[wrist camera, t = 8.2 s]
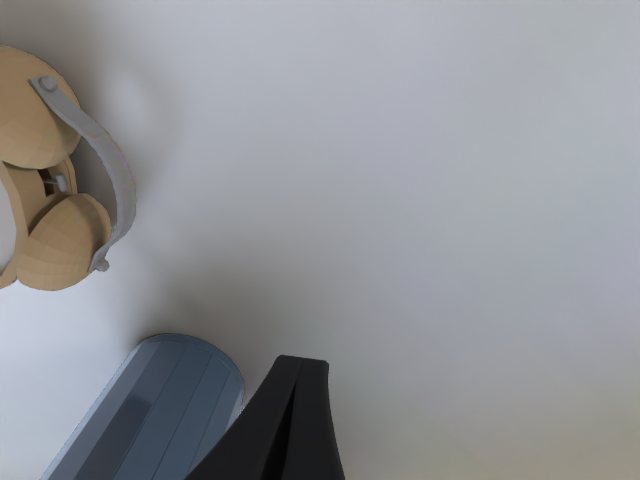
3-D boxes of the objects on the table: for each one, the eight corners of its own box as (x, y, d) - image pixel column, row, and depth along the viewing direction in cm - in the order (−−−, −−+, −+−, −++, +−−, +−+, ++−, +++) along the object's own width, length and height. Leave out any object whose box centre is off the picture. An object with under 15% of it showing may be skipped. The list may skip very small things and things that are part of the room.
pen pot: (246, 426, 28) (192, 592, 20) (139, 409, 29) (46, 565, 21) (242, 342, 24) (175, 506, 17) (120, 325, 25) (0, 475, 17)
